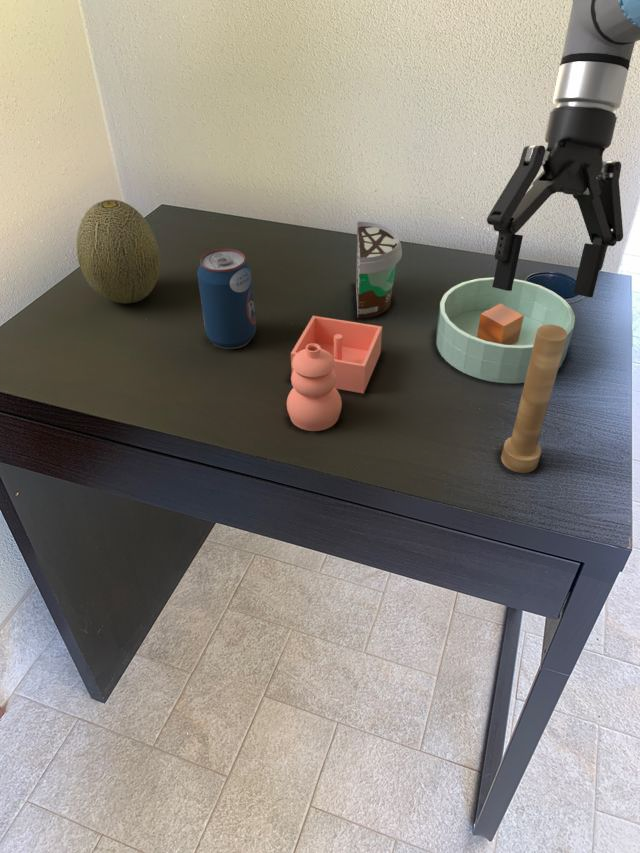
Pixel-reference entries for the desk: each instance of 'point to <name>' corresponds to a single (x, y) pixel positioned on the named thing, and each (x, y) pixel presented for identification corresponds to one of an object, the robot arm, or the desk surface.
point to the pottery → (330, 369)
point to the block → (500, 325)
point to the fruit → (118, 252)
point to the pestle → (534, 400)
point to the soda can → (227, 298)
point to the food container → (375, 267)
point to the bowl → (487, 357)
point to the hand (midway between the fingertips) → (543, 292)
